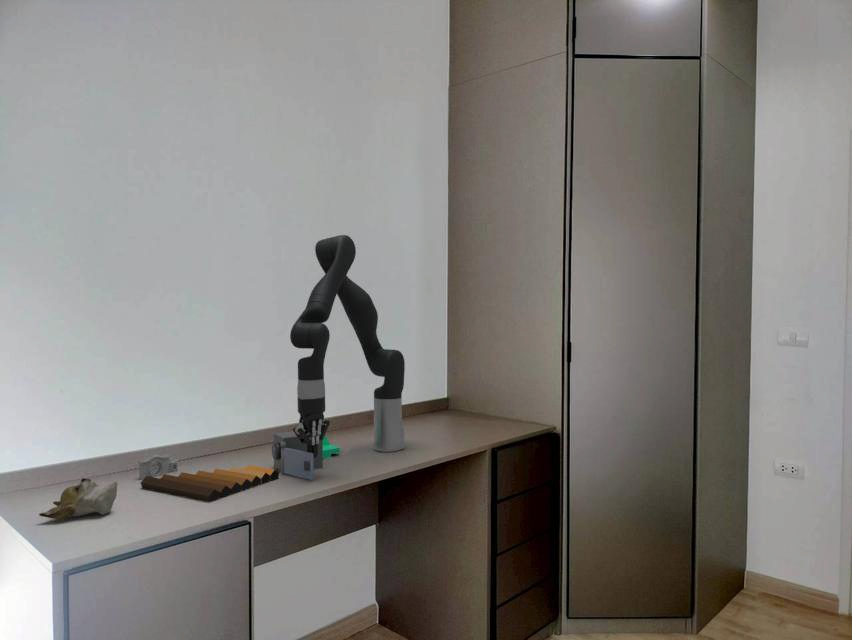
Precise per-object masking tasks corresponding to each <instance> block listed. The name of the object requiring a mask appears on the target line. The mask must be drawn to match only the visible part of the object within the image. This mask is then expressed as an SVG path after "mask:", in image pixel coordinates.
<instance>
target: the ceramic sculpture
mask: <svg viewBox="0 0 852 640" xmlns="http://www.w3.org/2000/svg"><path fill="white" fill-rule="evenodd" d="M117 492H118V481H113V482H110V483H108V484H105V485H99V484H97V483H96V482H95V481H94V480H92V479H90V478H81V480H80V482H79V483H75V484H74V483H73V484H71V485H69V486H67V487H66V488H65V489H64V490H63V492H62V493H61V494H60V499H59V501H57V500H55V501H52V503H53V505H55V506H54V507H52V508H50V509H49V510H47V511H45V512H41V513H39V514H38V515H39V517H42V518H43V517H45V518H47V519H54V520H55V519H56V520H57V519H58V520H60V519H64V518H68V517H71V518H73V517H74V518H75V517H76V518H77V517H83V516H87V515H88V514H92V513H99V515H107V514H109V513H110V512H111V511H112V509H113V505H114V503H115V500H116V499H117Z"/></svg>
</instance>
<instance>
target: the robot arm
mask: <svg viewBox="0 0 852 640" xmlns="http://www.w3.org/2000/svg"><path fill="white" fill-rule="evenodd" d="M356 248H357V247H356V245H355V242H354V241H353V239H352V238H351V237H350V235H347V234H340V235H336V236H335V235H334V236H331V237H326V238H324V239H320V240H318V241H317V242H316V244H315V246H314V251H315V256H316V259H317V261H318V264H319V266H320V267H321V269H322V271H323V272H324V275H323V276H322V277H321V278H320V279H319V280H318V282H317V283H316V285H315V286H314V287H313V289H312V290H311V293H310V295H309V297H308V299H307V302H306V306H305V309H304V310H303V311H302V313H301V314H300V316H298V318H297V319H296V320H295V322H294V324H293V325H292V327H291V329H290V334H289V338H290V342H291V344H292V346H294V348H297V349H311V350H313V351H312V353H311V355H309V356H306V357H301V358H299V360H298V361H297V387H296V388H297V389H296V395H297V412H298V413H299V419H298V422H299V424H298V425H297V427H293V428H292V431H294V433H295V434H296V436H297V437H298V439H299V440H300V442H301V443H304V444H307V452H310V453H313V458H316V457H317V455H318V443H319V441H320V440H323V438H324V436H326V434H327V431H328V429H329V426H330V423H331V421H330V420H327V419H325V415H324V413H325V412H326V385H325V384H326V383H325V379H324V378H325V377H324V376H325V373H324V371H325V370H324V366H325V365H324V364H325V359H326V354H327V350H328V346H329V342H330V339H331V338H330V337H331V336H330V329H329V328H328V326H327V325H326V324H324V323H326V322H327V321H328V320H329V318H330V315H331V312H332V309H333V305H334V303H335V301H336V297H338V298H339V301H340V303H341V305H342V307H343V309H344V312H345V315H346V316H347V319H348V320H349V322H350V324H351V326H352V328H353V330H354V332H355V336H356V337H357V340H358V341H359V344H360V345H361V348H362V351H363V355H364V357H365V360H366V363H367V364H366V365H368V368H369V370H370V372H371V373H372V375H374V376H377V377H382V378H384V380H383V384H381V386H379V387H376V388H375V389H374V390H373V450H375V451H376V452H383V453H384V452H385V453H388V452H389V453H391V452H392V453H393V452H398V451H401V450H404V449H405V420H404V419H402V418H403V416H402V415H403V412H402V411H403V409H402V408H403V407H402V403H403V401H402V400H403V399H402V397H403V390H404V387H405V386H404V385H405V371H406V370H405V369H406V368H405V367H406V365H405V358H404V355H403V353H402V351H400V350H397V349H391V348H390V349H388V348H387V349H385V348H383V346H382V345H381V342H380V340H379V338H378V334H377V329H378V321H379V314H378V311H377V308H376V306H375V304H374V301H373V300H372V297H371V295H369V293H368V292H367V291H366V290H365V289H364V288H362V287H361V286H359V284H357V283H356V282H354V281H353V280H352V279H351V278H350V277H349V276H348V275H347V274H348V273H349V271H350V269H351V267H352V265H353V263H354V261H355V259H356V255H357V250H356ZM320 434H321V435H320ZM309 437H310V439H309Z"/></svg>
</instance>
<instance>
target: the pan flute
mask: <svg viewBox="0 0 852 640" xmlns="http://www.w3.org/2000/svg"><path fill="white" fill-rule="evenodd" d="M279 476H280V472H279V470H278V471H277V469H276V468H268V467H262V466H261V467H260V466H254V465H249V464H247V466H246V467H245V468H241V467H240V468H239V467H236V466H235V467H234V466H231V467H230V469H229V470H226V469H220V468H214V469H213V471H212V472H210V471H203V470H198V471H197V472H195V474H194V473H187V472H180V473H179V475H178V476H175V475H170V474H167V473H165V474H162V476H161V477H160V478H157V477H149V476H146V477H145V478H144V479H141V482H140V486H141V488H142V489H144V490H150V491H154V492H155V491H156V492H160V493H163V494H169V495H172V496H174V495H175V496H179V497H184V498H188V499H193V500H199V501H203V502H209V503H212V502H215V501H218V500H219V499H224V498H226V497H230V495H236V494H239V493H241V492H243V491H246V489H247V490H249V488H250V489H251V488H255V486H256V487H259V486H260V485H264V484H267V483H269V482H273V481H275V480H278V479H279ZM258 485H259V486H258ZM241 490H242V491H241Z"/></svg>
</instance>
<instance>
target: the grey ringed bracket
mask: <svg viewBox="0 0 852 640" xmlns="http://www.w3.org/2000/svg"><path fill="white" fill-rule="evenodd" d="M170 457H171V455H169V454H168V453H167V454H165V455H158V454H157V455H156V454H155V455H150V456H149V457H148V458H147V459H143V460H139V461H137V463H138V464H139V465H138V466H139V467H138V468H139V469H138V470H139V471H138V472H139V475H138V476H139V479H140V480H143V479H144V478H145V477H146V476H149V477H154V478H156V477H159V476H160V475H164V474H168V473H173V472H176V471H178V467H179V466H178V462H179V460H178V459H175V460H173V461H172V460H171V461H170Z"/></svg>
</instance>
